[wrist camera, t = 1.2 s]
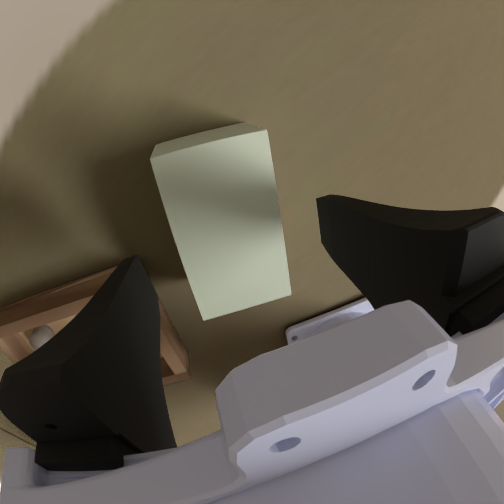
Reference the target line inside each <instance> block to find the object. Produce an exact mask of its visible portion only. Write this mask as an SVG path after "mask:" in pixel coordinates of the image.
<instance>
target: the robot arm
mask: <svg viewBox="0 0 504 504" xmlns="http://www.w3.org/2000/svg"><path fill="white" fill-rule="evenodd" d="M316 201H317V209H318V217H319V225H320V234H321V243H322V244H323V246H324V247H325V249H326V251H327V252H328V254H329V255H330V257H331V258H332V259H333V261H334V262H335V263H336V264H337V265H338V266H339V268H340V269H341V270H342V271H343V272H344V273H345V274H346V275H347V277H348V278H349V279H350V280H351V281H352V282H353V283H354V284H355V286H356V287H357V288H358V289H359V290H360V291H361V292H362V293H363V295H364V296H365V298H362V299H360V300H358V301H355V302H353V303H350V304H348V305H345V306H343V307H341V308H338V309H336V310H333V311H330V312H328V313H325V314H323V315H320V316H318V317H315V318H312V319H310V320H307V321H304V322H302V323H299V324H296V325H293V326H291V327H289V328H288V329H287V330H286V338H287V343H288V345H287V346H284V347H281V348H278V349H275V350H273V351H270V352H267V353H264V354H261V355H259V356H257V357H255V358H253V359H251V360H249V361H247V362H245V363H243V364H241V365H240V366H238V367H236V368H234V369H232V370H231V371H230V372H229V374H228V375H227V376H226V377H225V378H224V380H223V381H222V382H221V383H220V385H219V386H218V387H217V388H216V389H215V395H216V406H217V411H218V415H219V420H220V424H221V429H220V430H218V431H216V432H213V433H211V434H209V435H207V436H204V437H202V438H200V439H198V440H195V441H193V442H190V443H188V444H186V445H183V446H181V447H177V445H176V442H175V439H174V435H173V431H172V427H171V423H170V419H169V414H168V410H167V405H166V400H165V394H164V388H163V382H162V375H161V363H160V309H159V302H158V296H157V294H156V292H155V290H154V288H153V285H152V283H151V281H150V279H149V277H148V275H147V273H146V271H145V269H144V267H143V265H142V262H141V260H140V258H139V256H138V255H136V256H133V257H130V258H127V259H125V260H123V261H122V262H121V263H120V264H119V265H118V266H117V267H116V269H115V270H114V271H113V272H112V274H111V275H110V276H109V277H108V279H107V280H106V281H105V282H104V284H103V285H102V286H101V287H100V289H99V290H98V291H97V292H96V293H95V295H94V296H93V297H92V298H91V299H90V301H89V302H88V303H87V304H86V305H85V307H84V308H83V309H82V310H81V311H80V312H79V313H78V314H77V315H76V316H75V317H74V318H73V319H72V320H71V321H70V322H69V323H68V324H67V325H66V326H65V327H64V328H62V329H61V330H60V331H59V332H58V333H57V334H56V335H54V336H53V337H52V338H51V339H50V340H49V341H47V342H46V343H45V344H43V345H42V346H41V347H39V348H38V349H37V350H35V351H34V352H33V353H31V354H30V355H28V356H27V357H25V358H23V359H22V360H20V361H19V362H17V363H15V364H14V365H12V366H10V367H9V368H7V369H5V371H4V373H3V376H2V379H1V382H0V410H1V411H2V413H3V414H4V415H5V416H6V417H7V418H8V419H9V420H10V421H11V422H12V423H13V424H14V425H15V426H17V427H18V428H19V429H20V430H22V431H23V432H24V433H25V434H27V435H28V436H29V437H31V438H32V439H33V440H35V441H36V442H37V446H36V450H33V449H31V448H26V447H7V448H6V453H5V459H4V466H3V474H2V482H1V493H0V504H504V423H503V422H502V421H501V419H500V418H499V417H498V415H497V414H496V413H495V411H494V410H493V409H494V408H495V407H496V406H497V405H498V404H499V403H500V402H501V401H502V400H503V399H504V212H503V211H501V210H499V209H497V208H494V207H488V208H480V209H472V210H456V211H435V210H417V209H408V208H400V207H394V206H388V205H383V204H378V203H373V202H368V201H364V200H359V199H355V198H350V197H345V196H340V195H327V196H323V197H320V198H316ZM294 336H295V337H294ZM292 337H293V338H292Z"/></svg>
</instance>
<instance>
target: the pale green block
mask: <svg viewBox="0 0 504 504" xmlns="http://www.w3.org/2000/svg"><path fill="white" fill-rule="evenodd" d="M150 161H151V165H152V168H153V172H154V175H155V179H156V182H157V186H158V189H159V192H160V196H161V199H162V202H163V205H164V209H165V212H166V215H167V218H168V221H169V224H170V227H171V231H172V234H173V237H174V240H175V243H176V246H177V249H178V252H179V255H180V257H181V260H182V263H183V266H184V269H185V272H186V275H187V278H188V280H189V283H190V286H191V289H192V291H193V294H194V297H195V300H196V302H197V305H198V308H199V310H200V313H201V316H202V318H203V321H204V320H208V319H212V318H215V317H219V316H222V315H226V314H229V313H232V312H236V311H239V310H243V309H246V308H249V307H253V306H256V305H259V304H263V303H266V302H269V301H272V300H276V299H279V298H282V297H285V296H288V295H291V288H290V280H289V272H288V265H287V257H286V250H285V243H284V236H283V229H282V222H281V215H280V208H279V202H278V195H277V189H276V182H275V176H274V170H273V163H272V157H271V151H270V145H269V139H268V133H267V130H266V129H263V128H260V127H258V126H255V125H252V124H249V123H245V122H244V123H239V124H234V125H229V126H225V127H220V128H216V129H212V130H208V131H204V132H200V133H196V134H192V135H188V136H184V137H180V138H177V139H173V140H170V141H166V142H163V143H159V144H156V145H155V147H154V150H153V152H152V155H151V157H150Z"/></svg>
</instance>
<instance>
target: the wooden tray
mask: <svg viewBox="0 0 504 504" xmlns="http://www.w3.org/2000/svg"><path fill="white" fill-rule="evenodd" d="M117 266H118V265H116V266H113V267H110V268H108V269H105V270H102V271H99V272H96V273H93V274H91V275H88V276H85V277H82V278H79V279H77V280H74V281H71V282H68V283H66V284H63V285H60V286H57V287H55V288H52V289H49V290H47V291H44V292H41V293H38V294H36V295H33V296H30V297H28V298H25V299H23V300H20V301H17V302H15V303H12V304H10V305H7V306H4V307H2V308H0V348H1V349H2V350H3V352H4V353H5V354H6V355H7V356H8V358H9V359H10V360H11V361H12V362H13V363H14V364H15V363H17V362H19V361H20V360H22V359H23V358H25V357H27V356H28V355H30V354H31V353H33V352H34V351H35V350H37V349H38V348H39V347H41V346H42V345H43V344H45V343H46V342H47V341H49V340H50V339H51V338H52V337H53V336H54V335H56V334H57V333H58V332H59V331H60V330H61V329H62V328H64V327H65V326H66V325H67V324H68V323H69V322H70V321H71V320H72V319H73V318H74V317H75V316H76V315H77V314H78V313H79V312H80V311H81V310H82V309H83V308H84V307H85V305H86V304H87V303H88V302H89V301H90V299H91V298H92V297H93V296H94V295H95V293H96V292H97V291H98V290H99V289H100V287H101V286H102V285H103V284H104V282H105V281H106V280H107V279H108V277H109V276H110V275H111V274H112V272H113V271H114V270H115V269H116V267H117ZM158 302H159V309H160V363H161V375H162V382H163V386H164V385H168V384H172V383H176V382H180V381H183V380H187V379H191V374H190V367H189V359H188V352H187V350H186V349H185V347H184V345H183V343H182V341H181V340H180V338H179V336H178V334H177V332H176V330H175V329H174V327H173V325H172V323H171V321H170V319H169V317H168V315H167V313H166V312H165V310H164V308H163V306H162V304H161V302H160V300H159V298H158Z"/></svg>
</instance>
